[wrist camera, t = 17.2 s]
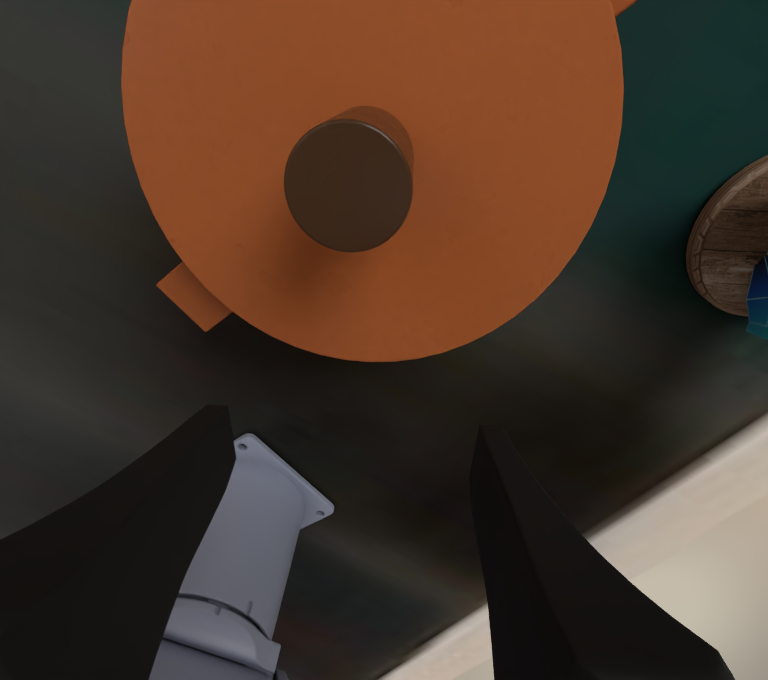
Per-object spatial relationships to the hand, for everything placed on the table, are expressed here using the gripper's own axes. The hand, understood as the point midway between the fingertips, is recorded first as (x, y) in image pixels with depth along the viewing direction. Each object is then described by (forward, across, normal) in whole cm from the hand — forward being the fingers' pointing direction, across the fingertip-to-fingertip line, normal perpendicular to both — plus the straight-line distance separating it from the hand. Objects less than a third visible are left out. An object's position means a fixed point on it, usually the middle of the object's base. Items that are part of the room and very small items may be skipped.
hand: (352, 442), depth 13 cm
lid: (+4, 0, -7) cm, 8 cm away
